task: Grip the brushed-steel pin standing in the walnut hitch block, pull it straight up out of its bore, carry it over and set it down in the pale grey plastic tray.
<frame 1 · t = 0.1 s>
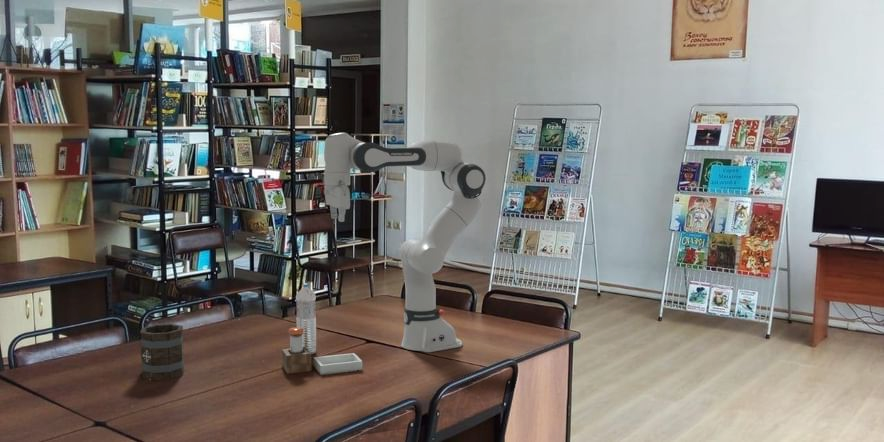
hand: (337, 220, 266), 48 cm above the table, fingers open, 8 cm apart
mug: (160, 372, 251), on the table
tray: (337, 368, 256), on the table
hitch block: (296, 368, 255), on the table
pin: (296, 349, 254), in the hitch block
water bottle: (306, 353, 273), on the table
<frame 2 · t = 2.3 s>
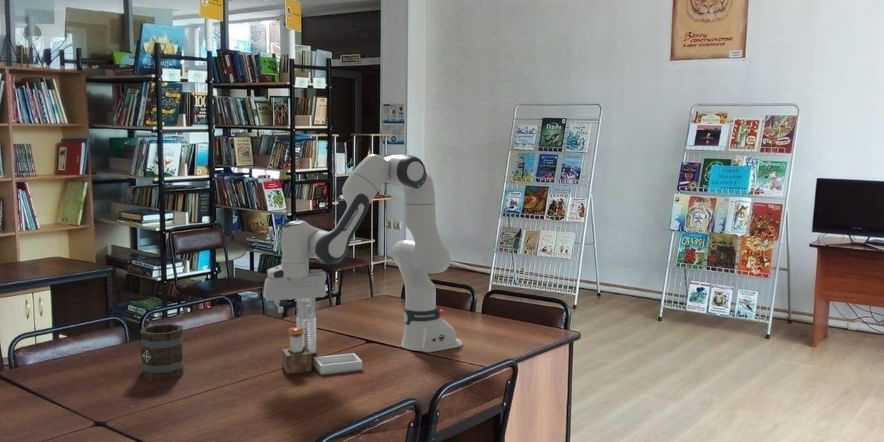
hand: (295, 311, 253), 19 cm above the table, fingers open, 8 cm apart
nothing on the table moved.
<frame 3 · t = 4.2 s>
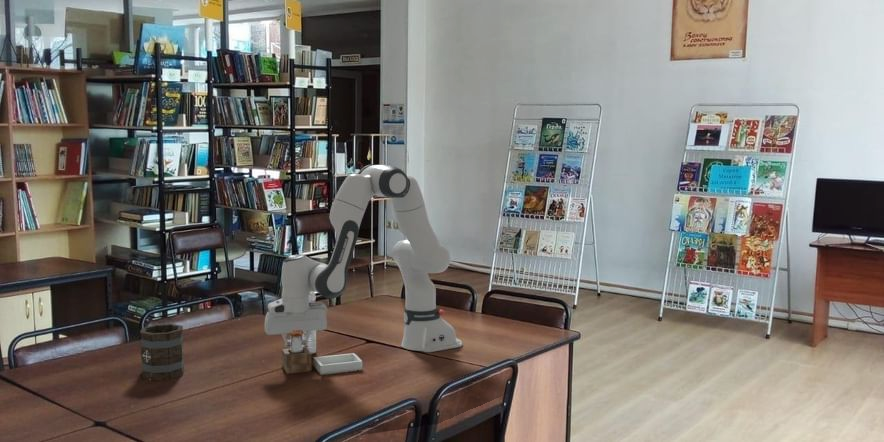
hand: (296, 345, 254), 8 cm above the table, fingers closed on pin, 4 cm apart
pin: (296, 349, 254), in the hitch block, touching gripper
everything else where it was.
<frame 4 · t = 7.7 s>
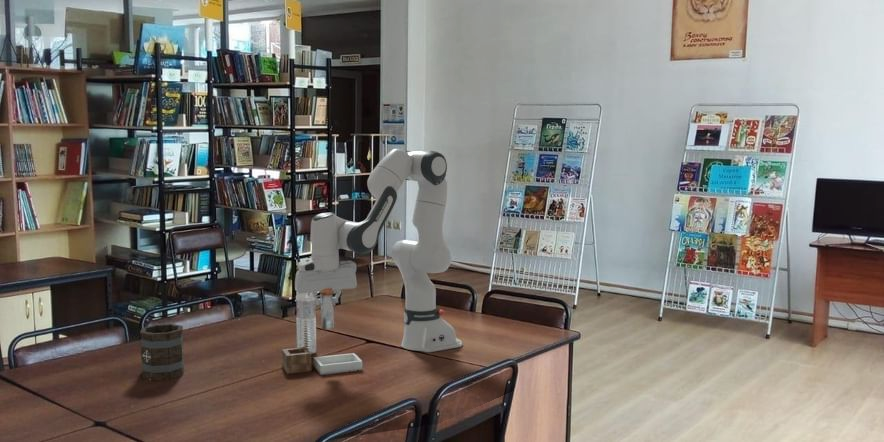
hand: (326, 303, 254), 22 cm above the table, fingers closed on pin, 4 cm apart
pin: (326, 307, 254), point 20 cm above the table, touching gripper
everything else where it was.
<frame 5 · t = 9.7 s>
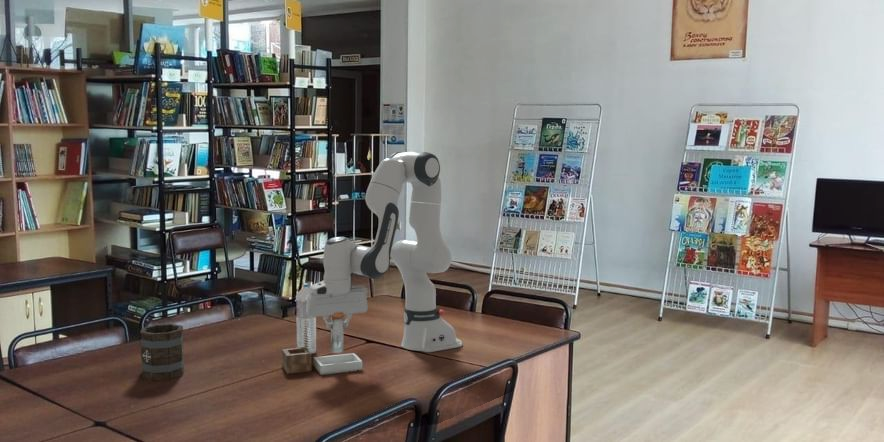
hand: (337, 327, 255), 14 cm above the table, fingers closed on pin, 4 cm apart
pin: (337, 331, 255), point 12 cm above the table, touching gripper
everything else where it was.
when the fingers open (10 cm above the table, at t = 11.3 s): pin stays where it is, resting on tray.
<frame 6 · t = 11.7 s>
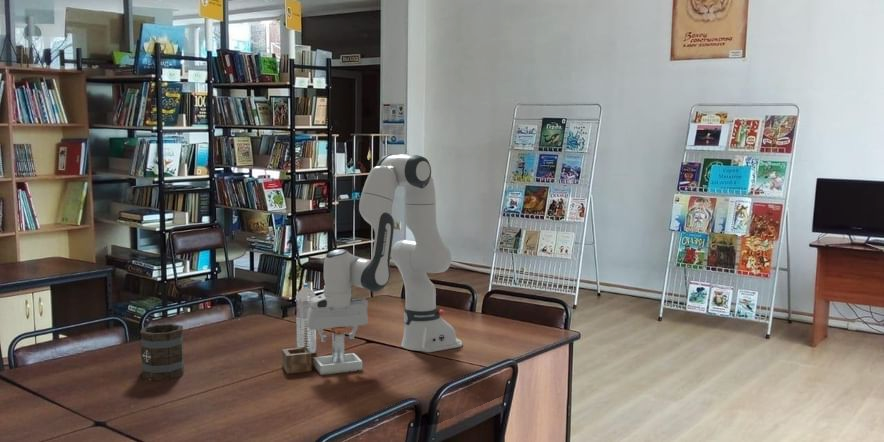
hand: (337, 340, 255), 10 cm above the table, fingers open, 8 cm apart
pin: (338, 346, 255), in the tray, point 7 cm above the table
everything else where it was.
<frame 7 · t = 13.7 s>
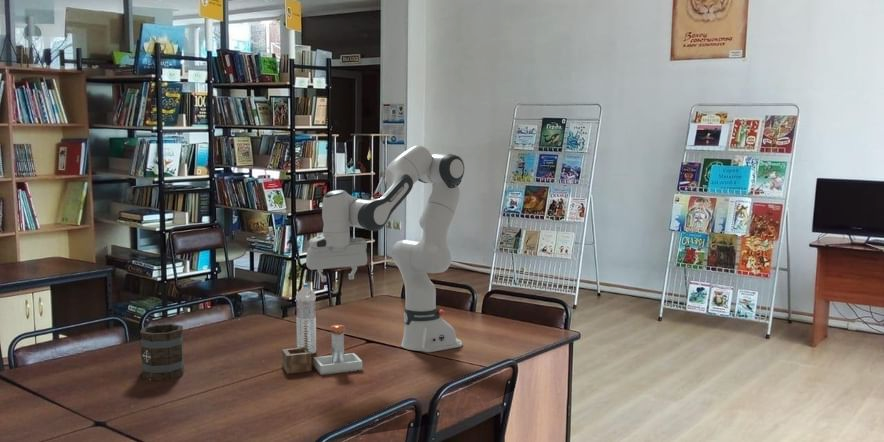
hand: (337, 280, 256), 29 cm above the table, fingers open, 8 cm apart
nothing on the table moved.
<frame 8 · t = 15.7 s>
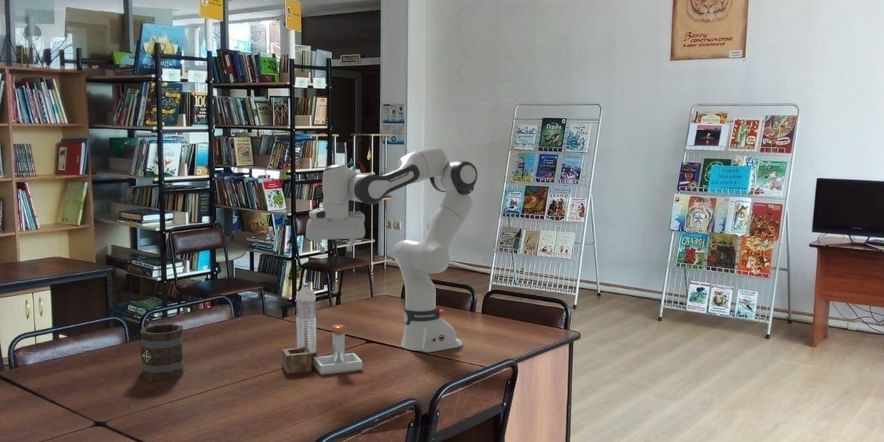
hand: (335, 251, 265), 37 cm above the table, fingers open, 8 cm apart
nothing on the table moved.
at the end: pin inside the target area on the tray (0.1 cm from its centre), point 7.4 cm above the tray's base; pin touching tray; the gripper is holding nothing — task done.
